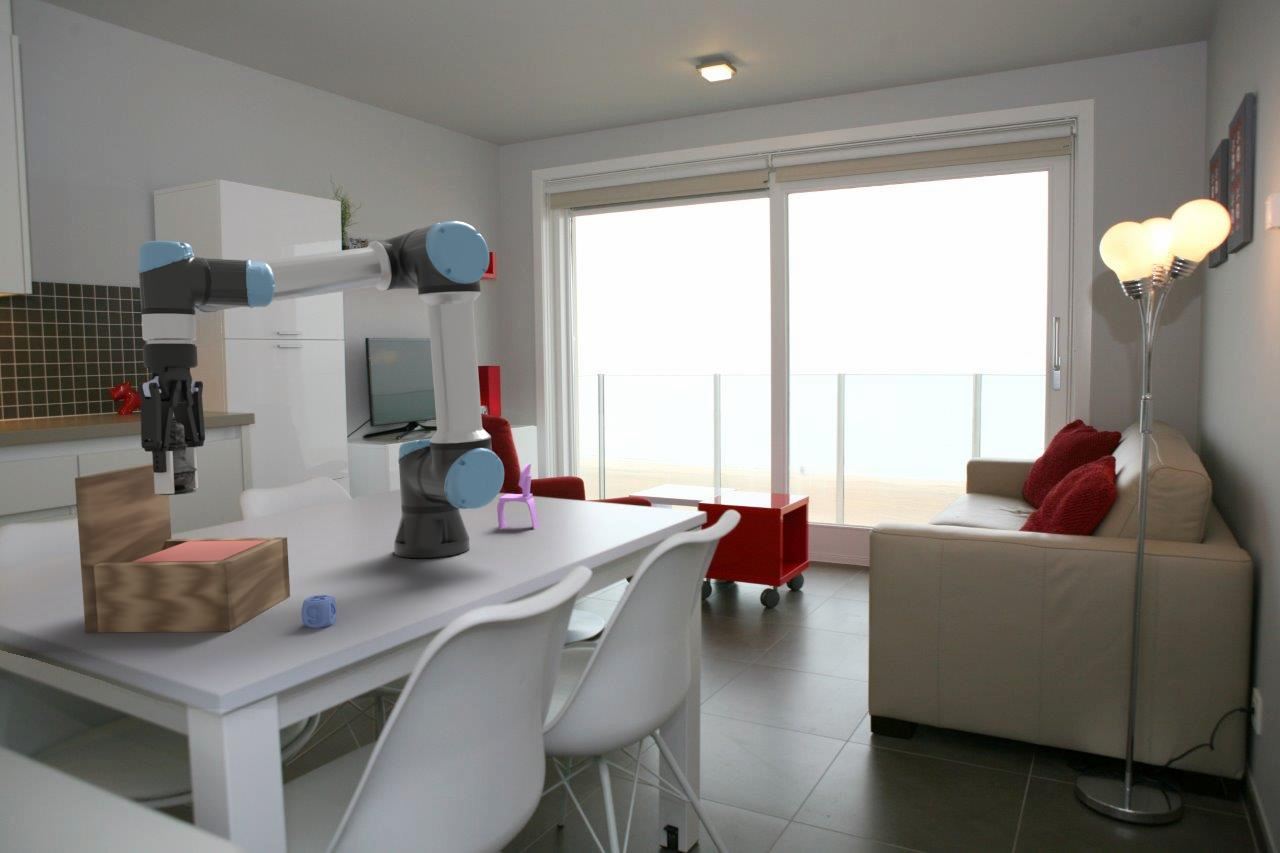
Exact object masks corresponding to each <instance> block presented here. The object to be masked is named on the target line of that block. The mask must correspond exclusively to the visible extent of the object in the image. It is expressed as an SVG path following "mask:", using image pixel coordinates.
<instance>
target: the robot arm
mask: <svg viewBox="0 0 1280 853" xmlns="http://www.w3.org/2000/svg"><path fill="white" fill-rule="evenodd" d="M489 265H490V251H489V247H488V245H487V242H486V241H485V238H484V237H483V235H481V233H480V232H478V230H477V229H476V228H474V227H473V226H472V225H470V224H468V223H466V222H463V221H457V220H453V221H452V220H450V221H448V220H447V221H440V222H437V223H435V224H433V225H429V226H425V227H421V228H417V229H414V230H411V231H408V232H406V233H402V234H401V235H400V234H399V235H396V236H394V237H389V238H386V239H381V240H373V241H370V242H369V243H368V245H367V247H366V246H365V247H360V248H352V249H351V248H350V249H343V250H335V251H328V252H319V253H312V254H311V253H310V254H302V255H296V256H295V255H294V256H287V257H279V258H272V259H271V258H270V259H262V260H255V261H254V260H251V259H246V260H243V259H221V258H205V257H204V258H203V257H199V256H195V253H193V247H192V246H191V245H190V244H189V243H187V242H182V241H181V242H179V241H170V240H151V241H146V242H143V243H142V244H140V246H139V249H138V270H137V274H138V278H139V279H138V280H139V296H140V297H139V298H140V309H141V310H140V311H141V313H140V314H141V332H142V340H143V341H146V343H147V344H144V345H143V346H142V357H143V358H142V360H143V367H144V368H146V369H151V373H150V378H149V381H147V382H139V383H138V384H137V388H138V393H139V398H140V432H141V433H140V436H141V437H140V439H141V442H140V444H141V448H142V449H144V451H145V452H151V454H152V456H151V457H152V463H153V471H154V486H155V494H173V493H175V492H174V471H173V451H168V449H169V442H170V434H171V426H172V418H173V416H174V417H175V419H176V420H175V421H176V422H178V423H180V424H182V425H183V426H184V436H185V444H186V445H188V446H186V459H187V462H188V464H189V465H190V466H191V467H193V468H197V470H196V471H195V477H194V479H193V481H192V482H191V483H190V484H187V485H185V488H193V489H198V488H199V474H198V470H199V469H198V451H197V448H199V447H200V448H201V447H203V446H204V444H205V441H206V432H205V419H204V418H205V417H204V406H203V390H204V389H203V388H204V382H203V381H202V380H201V381H200V380H196V381H195V380H194V379H193V377H192V375H191V374H192V373H191V369H194V368H196V367H197V366H198V347H197V345H196V344H194V342H195V341H196V340H197V339H198V338H197V320H196V311H198V312H202V313H214V312H215V313H216V312H218V311H224V310H228V309H237V308H249V309H253V308H264V307H265V308H266V307H268V306H270V305H271V303H274V302H275V303H276V302H281V301H286V300H288V301H289V300H294V299H300V298H301V299H303V298H308V297H314V296H321V295H327V294H333V293H334V294H335V293H341V292H349V291H355V290H362V289H367V288H368V289H369V288H374V287H375V288H376V289H377V290H378V291H381V292H383V291H392V290H406V289H407V290H408V289H410V290H412V289H415V290H417V291H418V293H417V294H418V295H417V296H418V298H419V299H420V300H421V301H422V302H424V303H425V305H426V306H427V316H428V317H427V318H428V330H429V341H430V342H429V343H430V353H431V366H432V367H431V368H432V369H431V370H432V378H433V379H432V380H433V381H432V383H433V395H434V396H433V397H434V405H435V406H434V407H435V409H434V410H435V419H436V432H435V433H434V434H433V436H432V437H431V438H425V439H419V440H418V439H416V440H410V441H404V442H403V443H401V444H400V446H399V450H398V460H397V461H398V468H399V469H398V470H399V486H400V504H401V505H400V506H401V507H400V508H401V517H400V521H399V524H398V528H397V531H396V535H395V539H394V542H393V547H394V548H393V551H394V555H396V556H398V557H403V558H407V559H409V558H410V559H414V558H415V559H428V558H430V559H431V558H441V557H448V556H454V555H458V554H462V553H464V552H467V551H469V549H470V536H469V533H468V531H467V529H466V526H465V523H464V520H463V517H462V514H461V510H460V509H462V510H467V509H471V510H472V509H473V510H476V509H479V508H483V507H485V506H487V505H489V504H491V502H492V501H494V499H495V498H496V497H497V496H498V495H499V493H500V492H501V490H502V487H503V484H504V480H505V468H504V464H503V461H502V460H501V459H500V457H499V456H498V455H497V454H496V453H495V452H494V451H493V450H492V449H493V448H492V445H493V444H492V436H491V434H489V433H488V432H487V431H486V430H485V429H484V428H483V421H482V420H483V419H482V407H481V406H482V405H481V391H480V390H481V389H480V380H479V379H480V377H479V362H478V351H477V350H478V349H477V338H476V336H477V333H476V323H475V307H474V304H475V302H476V301H477V299H478V298H479V297H480V296H481V294H482V293H481V278H482V277H484V275H485V273H486V272H487V271H488V269H489Z"/></svg>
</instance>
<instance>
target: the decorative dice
mask: <svg viewBox="0 0 1280 853" xmlns="http://www.w3.org/2000/svg"><path fill="white" fill-rule="evenodd" d="M302 602H303V603H302V606H301V621H302V623H303V625H304V626H305V627H306V628H309V629H321V627H322V628H326V627H331V626H332V625H333V624H335V621H336V619H337V618H336V617H337V602H336V599H335V598H334V597H333V596H332V595H329V594H317V595H312V596H309V597H306V598H305V599H304V600H303V601H302Z"/></svg>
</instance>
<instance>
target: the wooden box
mask: <svg viewBox="0 0 1280 853" xmlns="http://www.w3.org/2000/svg"><path fill="white" fill-rule="evenodd" d="M74 486H75V488H74V489H75V499H76V500H75V501H76V502H75V503H76V516H77V527H78V528H77V530H78V543H79V556H80V558H79V560H80V572H81V585H82V586H81V588H82V599H83V603H82V604H83V614H84V629H85V630H84V631H85V633H173V632H174V633H175V632H177V633H180V632H181V633H183V632H184V633H186V632H187V633H189V632H190V633H191V632H193V633H194V632H197V633H198V632H204V633H206V632H210V633H212V632H219V633H220V632H232V631H234V630H235V629H237V628H239V627H240V626H241V625H244V624H245V623H247V622H249V621H250V620H253V619H254V618H255V617H257V616H259V615H260V614H262V613H264V612H266V611H267V610H269V609H270V608H271V609H272V607H275V606H276V605H278V604H280V603H281V602H283V601H285V600H286V599H288V598H289V597H291V584H290V583H291V582H290V568H289V567H290V566H289V549H288V545H289V544H288V536H287V537H282V536H281V537H280V536H279V537H225V538H224V537H221V538H220V537H215V538H211V537H209V538H208V537H207V538H206V537H205V538H204V537H203V538H172V524H171V508H170V507H171V506H170V495H160V494H155V486H154V471H153V462H151V463H146V464H141V465H140V464H139V465H135V466H130V467H124V468H119V469H115V470H114V469H113V470H109V471H104V472H99V473H93V474H89V475H84V476H77V477H74ZM247 540H268V541H267V542H265V543H263V544H260V545H258V546H255V547H253V548H251V549H248V550H246V551H244V552H241V553H239V554H237V555H234V556H232V557H230V558H227V559H225V560H223V561H216V562H133V563H131V562H132V561H135V560H138V559H140V558H143V557H146V556H149V555H151V554H154V553H157V552H160V551H163V550H165V549H168V548H171V547H174V546H176V545H179V544H182V543H185V542H188V541H247Z"/></svg>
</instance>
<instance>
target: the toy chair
mask: <svg viewBox="0 0 1280 853" xmlns="http://www.w3.org/2000/svg"><path fill="white" fill-rule="evenodd" d="M531 466H532V463H530V462H527V463H526V464H525V465H524V466H523V467H522V469H521V471H520V473H519V474H520V476H519V481H518V486H519V487H520V488H521V489H522V493H520V494H519V493H517V494H516V493H505V494H504V495H503V496H500V497H499V498H498V503H497V507H496V509H497V510H496V512H497V522H498V530H500V531H501V530H503V529H504V528H505V527H507V526H508V523H507V520H506V517H505V511H504V510H505V504H506V503H510V502H521V503H525V504H527V507H528V510H529V513H530V518H531V522H532V523H531V524H532V529H533V530H536V529H537V528H538V527H539V526H541V522H540V520H539V518H538V514H537V510H536V501H535V499H534V497H533V493H531V482H532V474H531Z"/></svg>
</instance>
